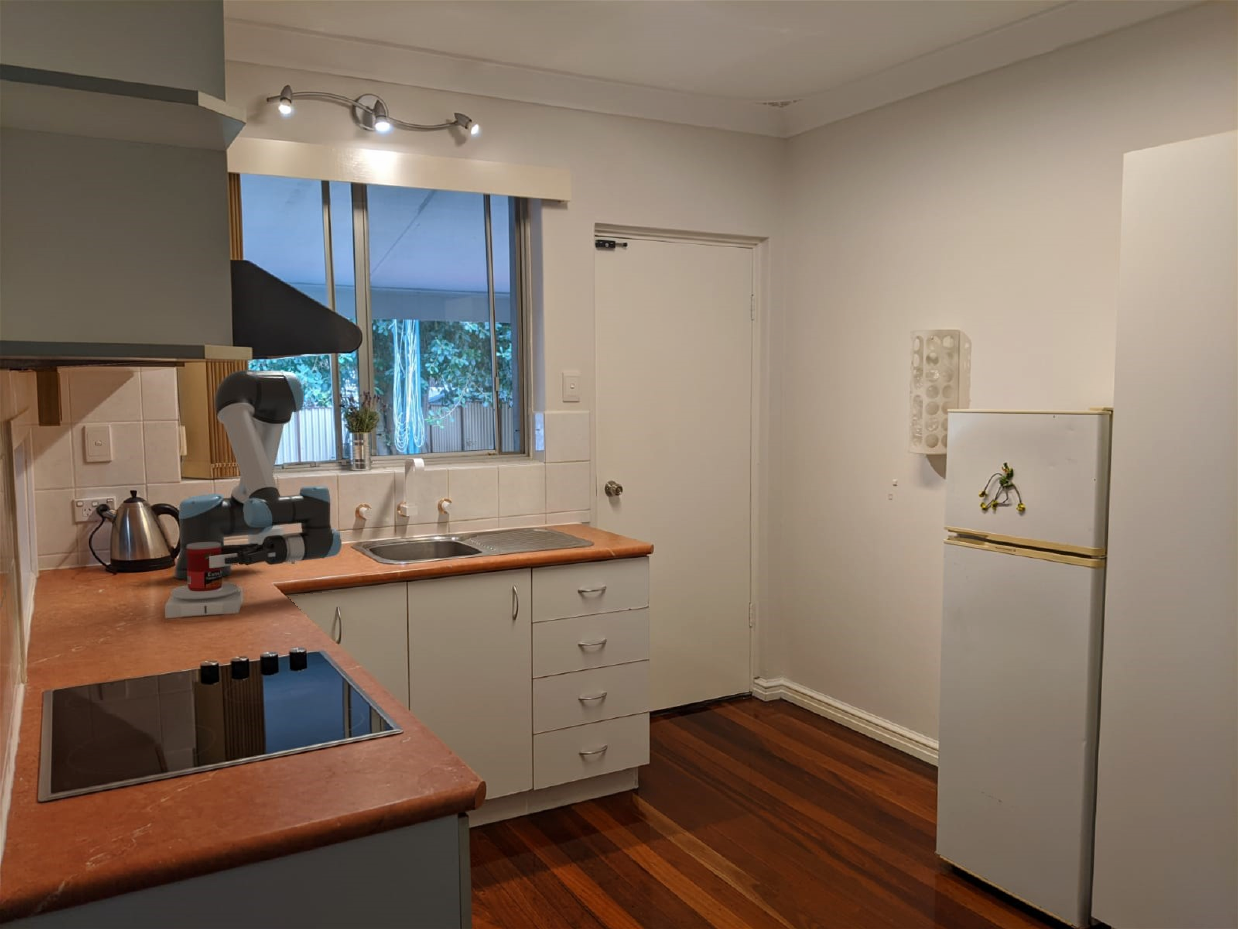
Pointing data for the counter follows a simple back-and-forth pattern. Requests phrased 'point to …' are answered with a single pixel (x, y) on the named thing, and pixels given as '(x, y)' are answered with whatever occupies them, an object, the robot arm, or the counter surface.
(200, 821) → the counter surface
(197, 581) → the canned food
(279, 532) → the toilet tissue
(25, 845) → the counter surface
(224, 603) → the kitchen scale
